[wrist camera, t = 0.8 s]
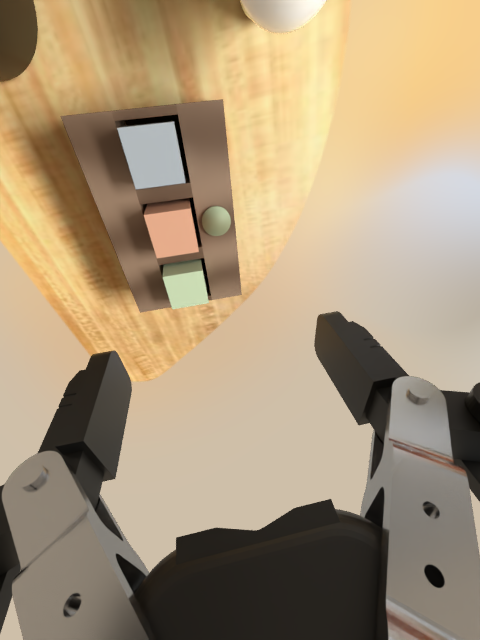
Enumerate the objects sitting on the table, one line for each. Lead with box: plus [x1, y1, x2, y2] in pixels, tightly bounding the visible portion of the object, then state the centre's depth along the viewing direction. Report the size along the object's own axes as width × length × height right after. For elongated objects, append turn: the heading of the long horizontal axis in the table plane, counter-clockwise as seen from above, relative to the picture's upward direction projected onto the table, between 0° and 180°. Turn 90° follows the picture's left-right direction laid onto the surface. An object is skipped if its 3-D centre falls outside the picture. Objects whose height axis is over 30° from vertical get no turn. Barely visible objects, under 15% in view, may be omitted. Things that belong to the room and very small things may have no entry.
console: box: [61, 99, 242, 312], centre depth 27 cm, size 18×12×5 cm, turn 5°
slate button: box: [117, 121, 185, 189], centre depth 22 cm, size 4×4×4 cm
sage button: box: [163, 258, 209, 309], centre depth 29 cm, size 4×4×4 cm
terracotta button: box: [144, 198, 199, 258], centre depth 25 cm, size 4×4×4 cm
